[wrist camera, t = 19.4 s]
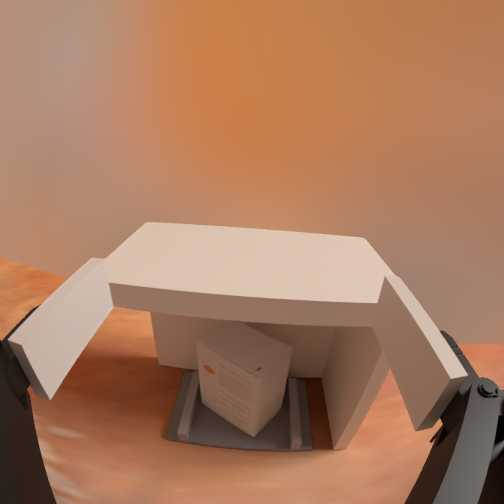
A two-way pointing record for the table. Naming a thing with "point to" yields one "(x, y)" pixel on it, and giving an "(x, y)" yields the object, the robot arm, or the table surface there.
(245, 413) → the small box
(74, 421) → the table surface
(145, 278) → the cabinet
